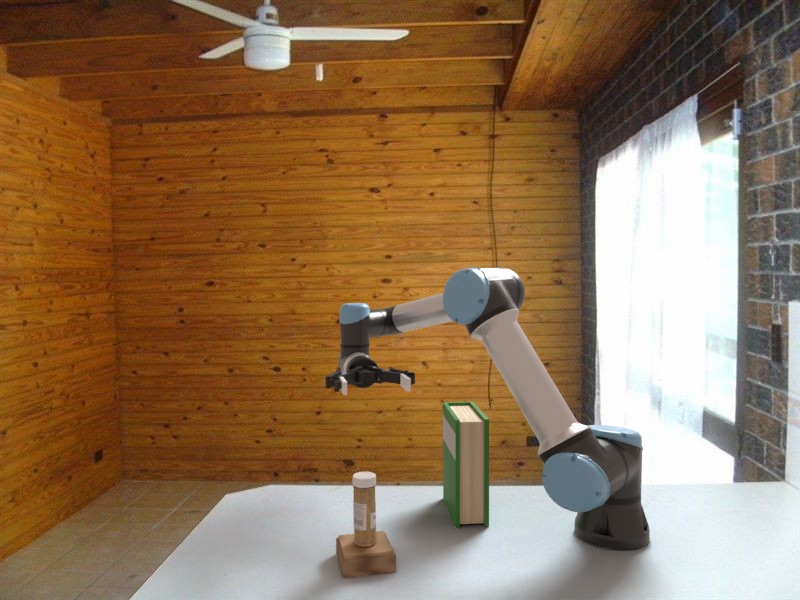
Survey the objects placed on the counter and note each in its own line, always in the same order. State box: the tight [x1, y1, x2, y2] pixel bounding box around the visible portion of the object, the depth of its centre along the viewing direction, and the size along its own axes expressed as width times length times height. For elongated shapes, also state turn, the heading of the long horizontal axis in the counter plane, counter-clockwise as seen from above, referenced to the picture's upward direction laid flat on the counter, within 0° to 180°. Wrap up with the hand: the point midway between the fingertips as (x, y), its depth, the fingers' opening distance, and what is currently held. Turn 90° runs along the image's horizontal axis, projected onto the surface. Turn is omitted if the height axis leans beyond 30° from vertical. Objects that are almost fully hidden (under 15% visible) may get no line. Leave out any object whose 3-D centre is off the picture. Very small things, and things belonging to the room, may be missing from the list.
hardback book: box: [442, 401, 490, 529], centre depth 147 cm, size 18×7×24 cm, turn 5°
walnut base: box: [335, 530, 397, 580], centre depth 123 cm, size 10×10×4 cm
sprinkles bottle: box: [351, 471, 377, 547], centre depth 122 cm, size 5×5×14 cm
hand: (377, 386), depth 134 cm, fingers open, 13 cm apart
